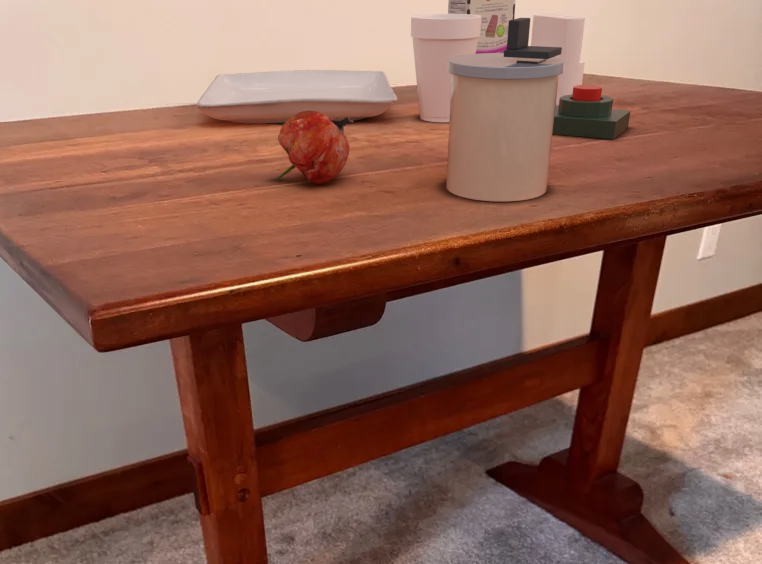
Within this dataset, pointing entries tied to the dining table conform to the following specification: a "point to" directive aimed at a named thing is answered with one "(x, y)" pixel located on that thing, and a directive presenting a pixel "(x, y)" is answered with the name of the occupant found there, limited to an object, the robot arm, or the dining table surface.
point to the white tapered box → (562, 46)
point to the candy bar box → (488, 21)
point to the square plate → (296, 95)
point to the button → (587, 92)
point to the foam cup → (440, 57)
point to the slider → (525, 42)
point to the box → (589, 118)
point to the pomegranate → (315, 145)
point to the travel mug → (501, 125)
